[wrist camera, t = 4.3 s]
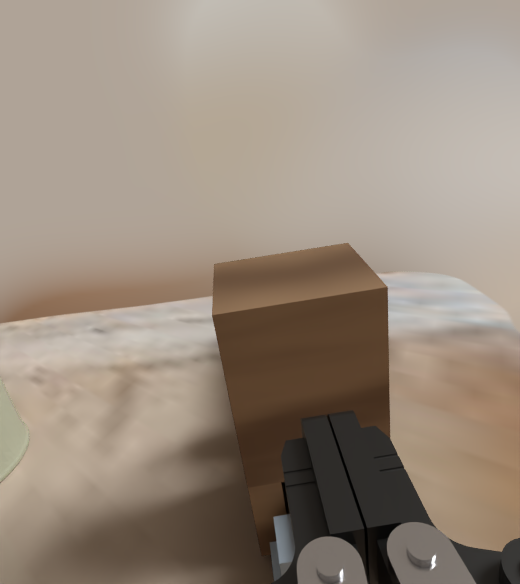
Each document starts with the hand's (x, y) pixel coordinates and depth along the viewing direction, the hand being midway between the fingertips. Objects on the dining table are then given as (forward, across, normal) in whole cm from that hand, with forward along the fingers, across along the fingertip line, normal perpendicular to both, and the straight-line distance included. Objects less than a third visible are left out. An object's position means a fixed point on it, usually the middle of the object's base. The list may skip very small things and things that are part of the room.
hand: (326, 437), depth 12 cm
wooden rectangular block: (+6, 0, +10) cm, 12 cm away
